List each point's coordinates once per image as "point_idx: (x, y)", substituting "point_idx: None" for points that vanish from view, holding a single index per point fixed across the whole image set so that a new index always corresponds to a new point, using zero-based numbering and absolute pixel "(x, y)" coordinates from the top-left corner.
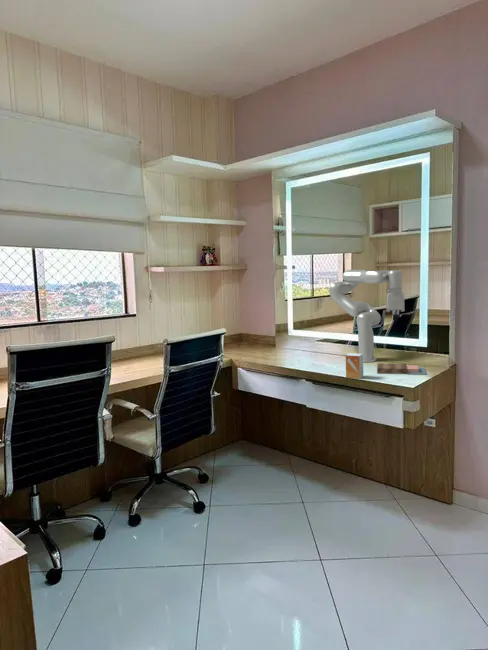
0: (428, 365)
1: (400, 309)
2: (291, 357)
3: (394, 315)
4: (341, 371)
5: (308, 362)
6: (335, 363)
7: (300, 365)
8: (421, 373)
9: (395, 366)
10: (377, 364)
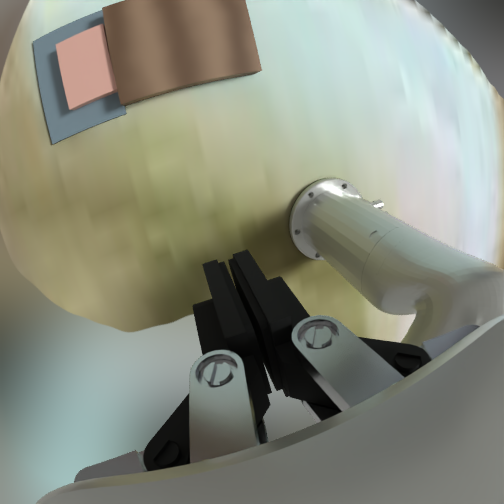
0: (52, 211)
1: (121, 479)
2: (491, 199)
3: (279, 308)
4: (369, 14)
5: (466, 142)
6: (413, 138)
7: (472, 101)
8: (50, 39)
9: (160, 28)
10: (255, 47)
